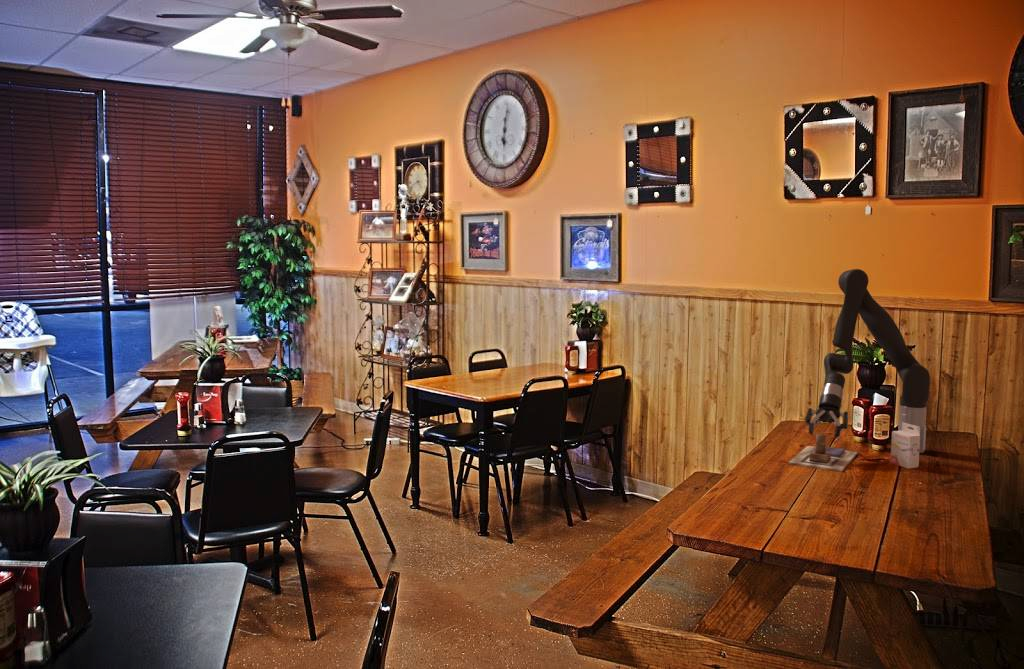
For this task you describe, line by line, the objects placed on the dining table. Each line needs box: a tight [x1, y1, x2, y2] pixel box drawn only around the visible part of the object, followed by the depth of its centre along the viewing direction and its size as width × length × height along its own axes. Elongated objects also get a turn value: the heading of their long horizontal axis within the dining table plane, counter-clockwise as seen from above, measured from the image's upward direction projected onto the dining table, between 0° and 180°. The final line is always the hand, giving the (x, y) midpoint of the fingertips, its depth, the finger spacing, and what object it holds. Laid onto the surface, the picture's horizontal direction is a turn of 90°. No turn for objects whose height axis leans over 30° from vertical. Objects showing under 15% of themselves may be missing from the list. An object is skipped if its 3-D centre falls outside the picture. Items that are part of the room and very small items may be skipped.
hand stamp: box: [809, 433, 831, 464], centre depth 300 cm, size 6×6×9 cm
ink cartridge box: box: [889, 422, 920, 470], centre depth 297 cm, size 9×5×15 cm, turn 22°
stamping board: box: [788, 445, 858, 472], centre depth 306 cm, size 18×28×2 cm, turn 147°
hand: (823, 435), depth 301 cm, fingers open, 8 cm apart
